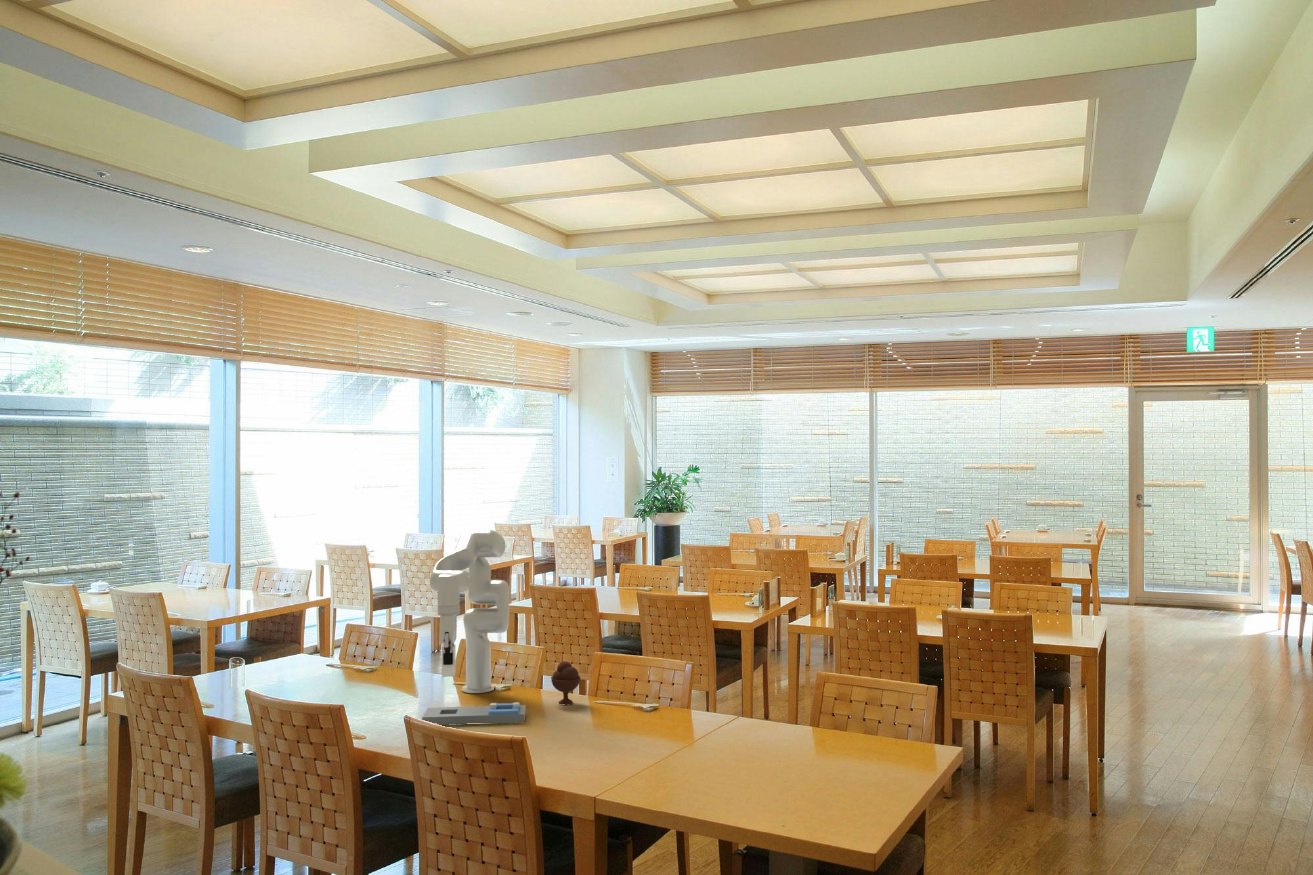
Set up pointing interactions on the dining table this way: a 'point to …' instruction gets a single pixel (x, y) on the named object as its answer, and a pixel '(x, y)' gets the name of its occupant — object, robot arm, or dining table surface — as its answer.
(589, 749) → the dining table surface
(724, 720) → the dining table surface
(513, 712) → the board
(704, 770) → the dining table surface
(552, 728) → the dining table surface
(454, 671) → the cord plug
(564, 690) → the ice cream bowl
